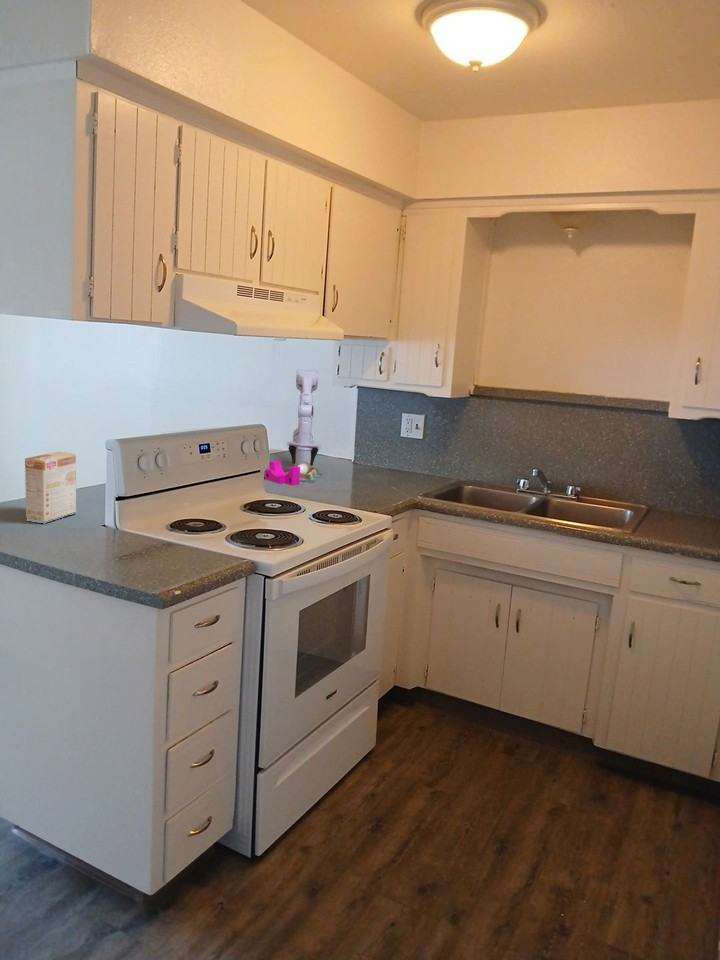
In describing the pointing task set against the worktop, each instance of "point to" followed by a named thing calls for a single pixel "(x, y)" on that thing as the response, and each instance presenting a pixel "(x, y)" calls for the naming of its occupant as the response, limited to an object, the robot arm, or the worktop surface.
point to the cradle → (310, 475)
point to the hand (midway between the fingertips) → (302, 464)
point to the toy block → (282, 474)
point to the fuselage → (304, 467)
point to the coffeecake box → (50, 485)
